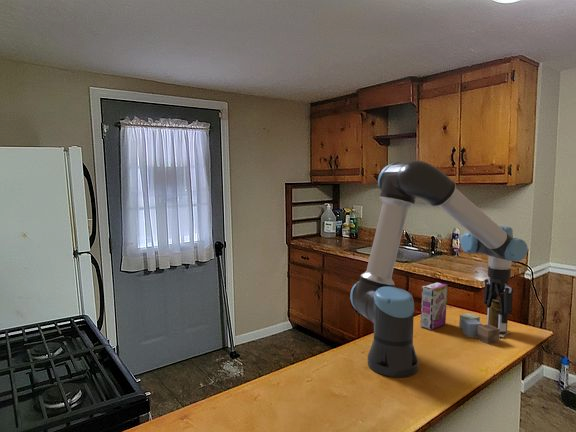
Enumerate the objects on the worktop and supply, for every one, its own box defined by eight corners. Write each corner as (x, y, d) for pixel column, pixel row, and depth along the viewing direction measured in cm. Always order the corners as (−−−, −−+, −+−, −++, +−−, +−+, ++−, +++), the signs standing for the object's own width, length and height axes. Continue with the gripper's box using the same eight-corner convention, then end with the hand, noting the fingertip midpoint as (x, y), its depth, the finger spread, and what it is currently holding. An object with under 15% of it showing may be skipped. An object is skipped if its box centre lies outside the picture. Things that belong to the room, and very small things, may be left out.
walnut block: (487, 344, 136) (488, 330, 135) (476, 339, 141) (477, 325, 140) (499, 342, 137) (499, 329, 137) (488, 337, 142) (488, 324, 142)
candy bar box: (431, 331, 148) (433, 289, 147) (420, 327, 152) (421, 286, 150) (446, 324, 155) (448, 284, 154) (435, 320, 159) (436, 281, 158)
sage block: (470, 331, 147) (470, 319, 147) (459, 327, 152) (459, 315, 152) (479, 329, 150) (479, 317, 149) (468, 325, 154) (468, 313, 154)
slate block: (468, 337, 142) (468, 324, 142) (462, 332, 147) (462, 319, 147) (481, 337, 142) (482, 324, 142) (475, 332, 147) (475, 319, 147)
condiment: (510, 331, 146) (512, 300, 145) (503, 337, 141) (505, 305, 140) (490, 326, 152) (491, 296, 151) (482, 332, 146) (483, 300, 145)
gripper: (526, 273, 135) (523, 337, 137) (493, 262, 154) (490, 318, 156) (506, 273, 135) (503, 337, 137) (475, 262, 154) (472, 319, 155)
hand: (496, 327), depth 146 cm, fingers closed on condiment, 6 cm apart
